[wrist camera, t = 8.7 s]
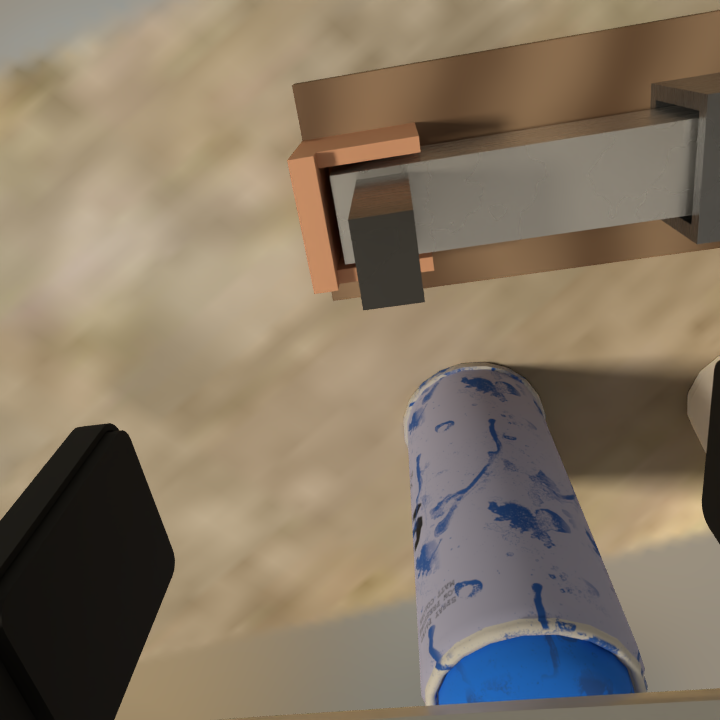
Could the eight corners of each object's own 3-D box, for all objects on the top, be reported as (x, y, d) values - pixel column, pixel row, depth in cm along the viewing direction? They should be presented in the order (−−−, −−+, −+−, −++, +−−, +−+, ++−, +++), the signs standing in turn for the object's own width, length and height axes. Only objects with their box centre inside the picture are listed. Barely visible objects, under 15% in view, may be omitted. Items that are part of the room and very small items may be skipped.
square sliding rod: (714, 99, 27) (869, 130, 18) (707, 187, 28) (847, 254, 20) (336, 159, 28) (313, 214, 20) (349, 239, 30) (334, 322, 21)
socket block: (414, 122, 28) (419, 138, 24) (428, 241, 31) (435, 276, 26) (302, 140, 29) (287, 160, 24) (324, 256, 31) (314, 293, 27)
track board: (954, -31, 26) (975, -34, 25) (901, 215, 30) (917, 220, 29) (294, 83, 29) (292, 85, 28) (334, 293, 33) (333, 300, 32)
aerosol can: (389, 377, 35) (393, 732, 17) (535, 349, 34) (699, 696, 16) (417, 490, 39) (445, 885, 21) (551, 468, 37) (701, 864, 20)
